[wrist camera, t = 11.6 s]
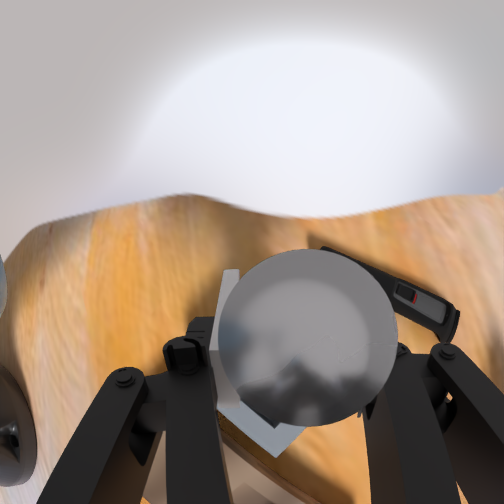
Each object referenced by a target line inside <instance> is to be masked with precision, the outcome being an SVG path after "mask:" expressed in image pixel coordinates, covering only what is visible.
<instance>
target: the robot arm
mask: <svg viewBox="0 0 504 504" xmlns="http://www.w3.org/2000/svg"><path fill="white" fill-rule="evenodd" d="M239 280H240V274H239V269H227V270H224V272H223V277H222V283H221V288H220V293H219V298H218V303H217V309H216V314H215V317H195V318H194V319H193V320H192V321H191V322H190V323H189V325H188V329H187V332H186V335H185V336H181V337H176V338H174V339H172V340H170V341H168V342H167V343H166V344H165V345H164V347H163V354H164V358H165V362H166V366H167V369H168V371H166V372H164V373H161V374H157V375H152V376H146V377H144V374H143V372H142V371H140V370H139V369H137V368H134V367H124V368H120V369H117V370H115V371H113V372H112V373H111V374H110V375H109V376H108V377H107V379H106V380H105V382H104V384H103V385H102V387H101V389H100V390H99V392H98V393H97V395H96V397H95V398H94V400H93V402H92V403H91V405H90V407H89V408H88V410H87V412H86V413H85V415H84V417H83V418H82V420H81V422H80V424H79V425H78V427H77V429H76V430H75V432H74V434H73V436H72V437H71V439H70V441H69V443H68V444H67V446H66V448H65V450H64V452H63V453H62V455H61V457H60V459H59V461H58V463H57V464H56V466H55V468H54V470H53V472H52V474H51V476H50V477H49V479H48V481H47V483H46V485H45V487H44V489H43V491H42V493H41V495H40V497H39V499H38V501H37V503H36V504H140V502H141V498H142V495H143V492H144V489H145V486H146V483H147V480H148V476H149V473H150V470H151V467H152V464H153V461H154V458H155V455H156V452H157V449H158V446H159V443H160V440H161V437H162V434H163V431H166V441H165V452H166V495H167V504H234V502H233V497H232V492H231V487H230V482H229V477H228V472H227V466H226V461H225V455H224V450H223V444H222V438H221V432H220V426H219V420H218V414H217V402H218V407H219V408H240V396H239V395H238V393H237V392H236V391H235V389H234V388H233V387H232V385H231V383H230V381H229V380H228V378H227V376H226V374H225V371H224V369H223V366H222V363H221V359H220V355H219V348H218V326H219V321H220V316H221V313H222V310H223V307H224V304H225V302H226V300H227V298H228V296H229V294H230V292H231V291H232V289H233V288H234V286H235V285H236V283H237V282H238V281H239ZM6 301H7V279H6V273H5V269H4V265H3V262H2V259H1V256H0V317H1V316H2V314H3V311H4V309H5V306H6ZM448 392H449V393H450V395H451V396H452V397H453V398H452V400H451V401H450V400H449V399H448V398H447V397H446V396H447V394H448ZM361 413H362V414H363V421H364V429H365V437H366V446H367V455H368V465H369V476H370V489H371V504H461V500H460V496H459V492H458V488H457V483H458V485H459V487H460V489H461V491H462V492H463V494H464V496H465V498H466V500H467V501H468V503H469V504H504V395H503V393H502V392H501V391H500V390H499V389H498V388H497V387H496V386H495V385H494V384H493V382H492V381H491V380H490V379H489V378H488V377H487V376H486V375H485V374H484V373H483V372H482V371H481V370H480V369H479V368H478V367H477V366H476V364H475V363H474V362H473V361H472V360H471V359H470V358H469V357H468V356H467V355H466V354H465V353H464V352H463V351H462V350H461V349H460V348H458V347H457V346H456V345H453V344H451V343H438V344H436V345H434V346H433V347H432V349H431V351H430V354H413V353H411V351H410V350H409V349H408V347H407V346H405V345H404V344H402V343H399V342H398V346H397V353H396V358H395V362H394V365H393V368H392V370H391V373H390V375H389V377H388V379H387V381H386V383H385V384H384V386H383V387H382V389H381V390H380V391H379V393H378V394H377V395H376V396H375V397H374V399H373V400H371V401H370V402H369V403H368V404H367V405H366V406H365V407H364V408H362V409H361V410H359V411H358V416H357V418H358V417H360V416H361ZM36 455H37V448H36V437H35V431H34V426H33V421H32V418H31V414H30V411H29V408H28V405H27V403H26V400H25V398H24V396H23V393H22V391H21V389H20V388H19V386H18V384H17V383H16V381H15V379H14V378H13V377H12V375H11V374H10V373H9V372H8V371H7V370H6V369H5V368H4V367H3V366H2V365H0V486H3V487H9V486H15V485H20V484H23V483H25V482H26V481H28V480H29V479H30V477H31V476H32V474H33V471H34V468H35V464H36ZM456 482H457V483H456Z"/></svg>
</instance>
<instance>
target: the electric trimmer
mask: <svg viewBox="0 0 504 504" xmlns="http://www.w3.org/2000/svg"><path fill="white" fill-rule="evenodd" d="M320 250H324V251H328V252H332V253H336V254H339V255H341V256H344V257H346V258H348V259H350V260H352V261H354V262H355V263H357V264H358V265H360V266H361V267H363V268H364V269H365V270H366V271H367V272H369V273H370V274H371V275H372V276H373V277H374V278H375V279H376V281H377V282H378V283H379V284H380V285H381V287H382V288H383V290H384V291H385V293H386V295H387V297H388V299H389V301H390V303H391V305H392V308H393V311H394V312H396V313H398V314H400V315H402V316H404V317H406V318H408V319H410V320H412V321H414V322H416V323H418V324H420V325H422V326H424V327H426V328H427V329H429V330H431V331H433V332H435V333H437V334H438V336H439V338H440V342H441V343H445V342H446V343H450V342H451V341H452V339H453V337H454V335H455V332H456V329H457V326H458V322H459V317H460V311H459V310H456V309H455V307H454V305H453V304H451V303H450V302H448V301H446V300H445V299H443V298H441V297H439V296H437V295H435V294H432V293H430V292H428V291H426V290H424V289H422V288H420V287H418V286H416V285H413V284H411V283H409V282H407V281H404V280H402V279H399V278H396V277H394V276H392V275H390V274H388V273H386V272H383V271H381V270H379V269H377V268H374V267H372V266H370V265H367V264H365V263H363V262H361V261H358V260H356V259H354V258H352V257H349V256H347V255H345V254H342V253H340V252H338V251H336V250H333V249H331V248H329V247H326V246H322V247H321V249H320Z"/></svg>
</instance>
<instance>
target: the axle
mask: <svg viewBox="0 0 504 504" xmlns="http://www.w3.org/2000/svg"><path fill="white" fill-rule="evenodd" d="M397 346H398V331H397V322H396V318H395V314H394V311H393V308H392V305H391V303H390V301H389V299H388V297H387V295H386V293H385V291H384V290H383V288H382V287H381V285H380V284H379V283H378V282H377V281H376V279H375V278H374V277H373V276H372V275H371V274H370V273H369V272H367V271H366V270H365V269H364V268H363V267H361V266H360V265H358V264H357V263H355V262H354V261H352V260H350V259H348V258H346V257H344V256H341V255H339V254H336V253H332V252H328V251H324V250H316V249H300V250H292V251H287V252H283V253H280V254H277V255H274V256H271V257H270V258H268V259H266V260H264V261H262V262H260V263H259V264H257V265H256V266H254V267H253V268H251V269H250V270H249V271H248V272H247V273H246V274H245V275H244V276H243V277H242V278H241V279H240V280H239V281H238V282H237V283H236V285H235V286H234V288H233V289H232V291H231V292H230V294H229V296H228V298H227V300H226V302H225V304H224V307H223V310H222V313H221V316H220V321H219V326H218V348H219V355H220V359H221V363H222V366H223V369H224V371H225V374H226V376H227V378H228V380H229V381H230V383H231V385H232V387H233V388H234V389H235V391H236V392H237V393H238V395H239V396H240V397H241V398H242V399H243V400H244V401H245V402H246V403H247V404H248V405H249V406H251V407H252V408H253V409H255V410H256V411H257V412H259V413H261V414H263V415H264V416H266V417H268V418H270V419H272V420H275V421H278V422H280V423H284V424H289V425H293V426H304V427H311V426H322V425H327V424H332V423H335V422H338V421H340V420H343V419H345V418H347V417H349V416H351V415H353V414H355V413H356V412H358V411H359V410H361V409H362V408H364V407H365V406H366V405H367V404H368V403H369V402H370V401H371V400H373V399H374V397H375V396H376V395H377V394H378V393H379V391H380V390H381V389H382V387H383V386H384V384H385V383H386V381H387V379H388V377H389V375H390V373H391V370H392V368H393V365H394V362H395V358H396V353H397Z"/></svg>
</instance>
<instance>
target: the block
mask: <svg viewBox="0 0 504 504" xmlns="http://www.w3.org/2000/svg"><path fill="white" fill-rule="evenodd" d="M217 409H218V410H219V411H220V412H221V413H222V414H223V415H224V416H225V417H226V418H228V419H229V420H230V421H231V422H232V423H233V424H234V425H236V426H237V427H238V428H239V429H240V430H241V431H243V432H244V433H245V434H246V435H247V436H249V437H250V438H251V439H252V440H253V441H255V442H256V443H257V444H258V445H260V446H261V447H262V448H263V449H265V450H266V451H267V452H269V453H270V454H271V455H272V456H274V457H275V458H277V457H278V456H279V455H280V454H281V453H282V452H283V451H284V450H285V449H286V448H287V447H288V446H289V445H290V444H291V443H292V442H293V441H294V440H295V439H296V438H297V437H298V436H299V434H300V433H301V432H302V431H303V430H304V429H305V428H306V427H304V426H293V425H289V424H284V423H280V422H278V421H275V420H272V419H270V418H268V417H266V416H264V415H263V414H261V413H259V412H257V411H256V410H255V409H253V408H252V407H251V406H249V405H248V404H247V403H246V402H245V401H244V400H243V399H242V398H241V397H240V408H219V407H218V402H217Z"/></svg>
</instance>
